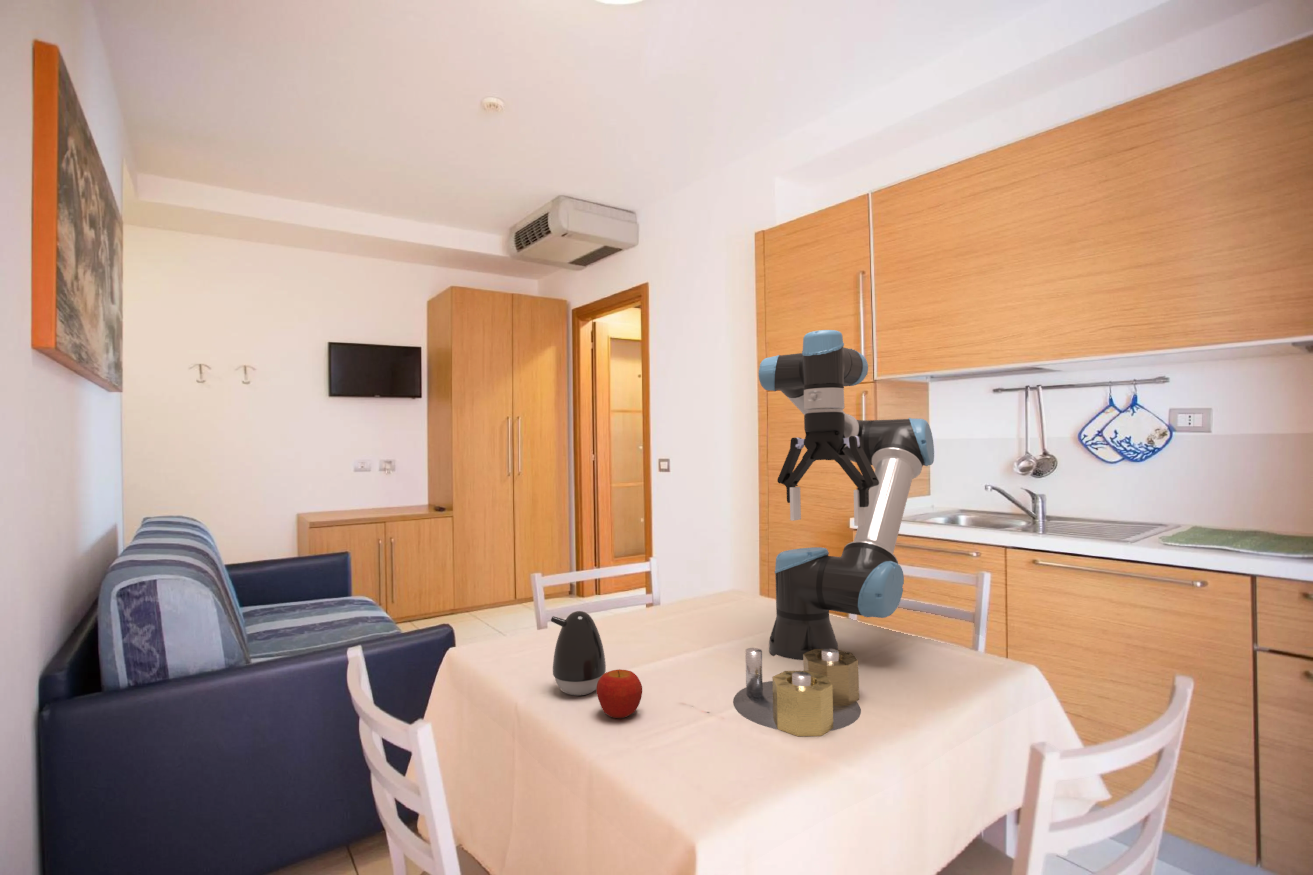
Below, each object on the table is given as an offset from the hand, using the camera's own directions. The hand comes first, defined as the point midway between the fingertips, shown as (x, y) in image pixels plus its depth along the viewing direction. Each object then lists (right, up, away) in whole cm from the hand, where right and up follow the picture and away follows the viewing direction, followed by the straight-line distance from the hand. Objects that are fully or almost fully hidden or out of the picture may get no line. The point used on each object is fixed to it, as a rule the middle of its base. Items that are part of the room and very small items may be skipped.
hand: (826, 522), depth 119 cm
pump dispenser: (-48, -33, +1) cm, 58 cm away
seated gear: (-1, -31, -6) cm, 31 cm away
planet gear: (-9, -31, -17) cm, 36 cm away
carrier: (-8, -32, -9) cm, 34 cm away
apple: (-39, -32, -11) cm, 52 cm away
